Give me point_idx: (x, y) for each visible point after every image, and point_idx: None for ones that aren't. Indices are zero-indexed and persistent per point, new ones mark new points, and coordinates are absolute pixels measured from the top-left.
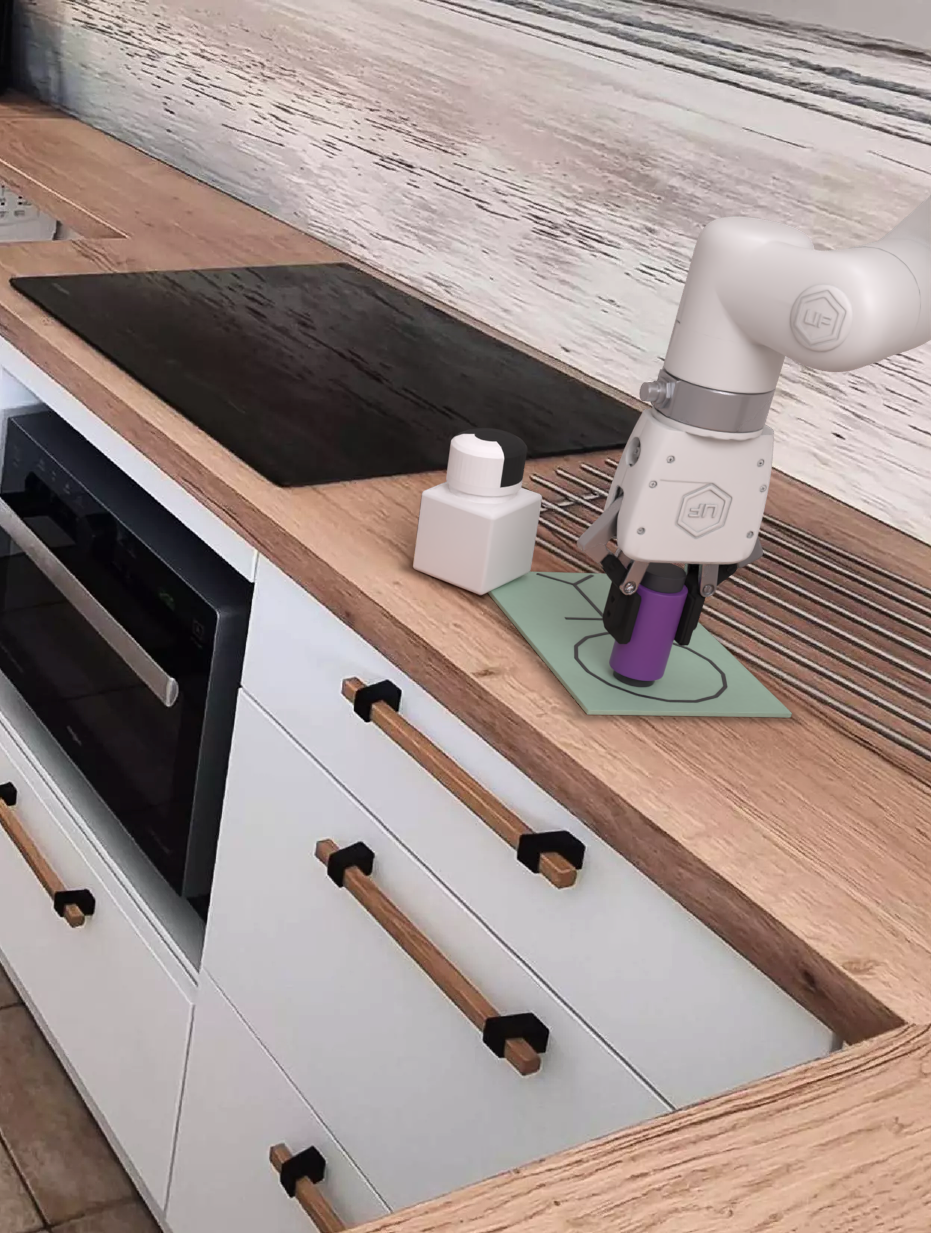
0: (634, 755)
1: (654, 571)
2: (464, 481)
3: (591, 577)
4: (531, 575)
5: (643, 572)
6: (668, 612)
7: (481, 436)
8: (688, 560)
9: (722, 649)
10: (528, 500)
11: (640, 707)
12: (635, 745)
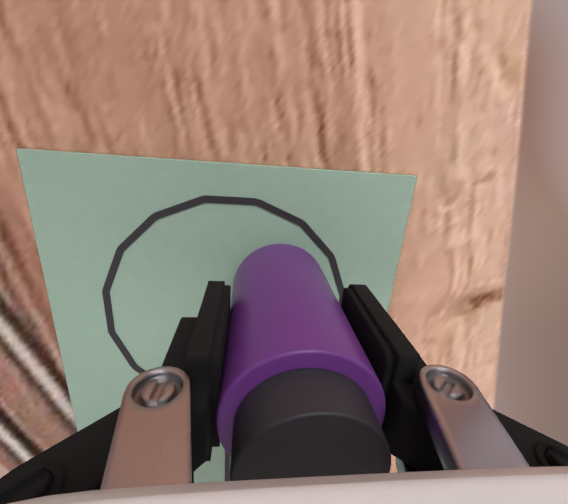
0: (417, 22)
1: (362, 459)
2: None
3: None
4: None
5: (451, 436)
6: (300, 316)
7: None
8: (381, 490)
9: (71, 366)
10: None
11: (319, 182)
12: (392, 61)
